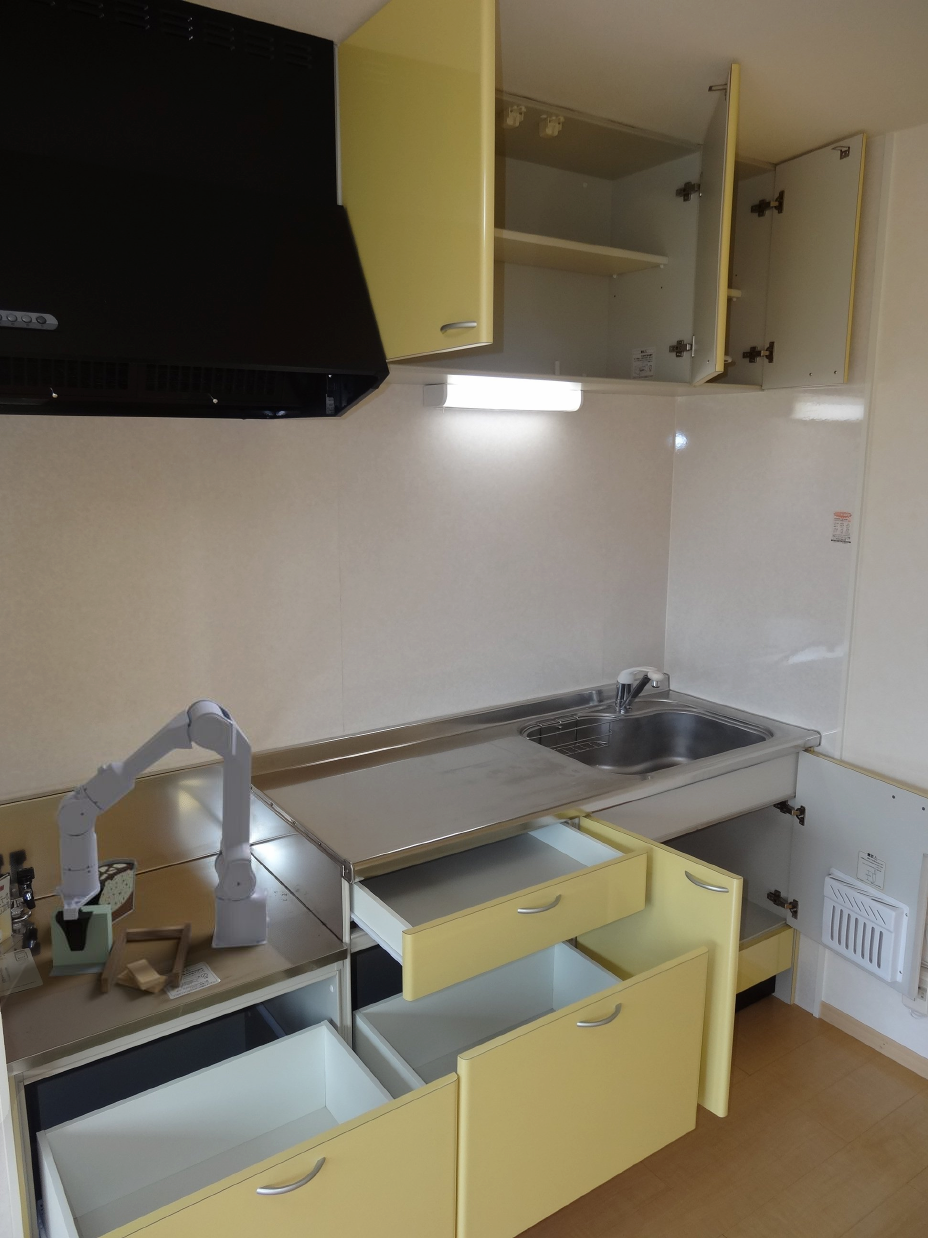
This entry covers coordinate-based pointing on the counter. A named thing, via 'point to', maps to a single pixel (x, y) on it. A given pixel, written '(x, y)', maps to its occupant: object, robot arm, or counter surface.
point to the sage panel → (96, 940)
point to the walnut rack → (144, 934)
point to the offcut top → (143, 974)
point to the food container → (118, 885)
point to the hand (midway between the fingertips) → (83, 938)
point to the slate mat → (78, 969)
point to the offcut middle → (129, 981)
